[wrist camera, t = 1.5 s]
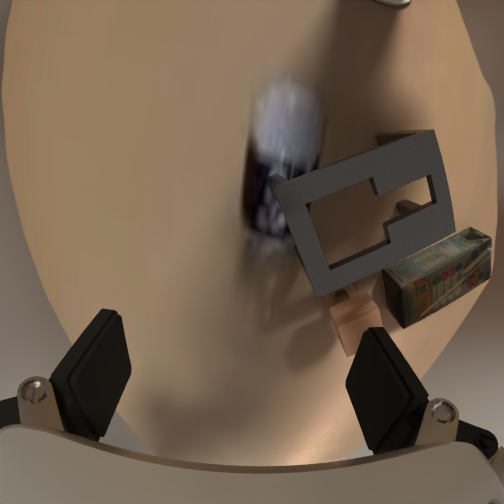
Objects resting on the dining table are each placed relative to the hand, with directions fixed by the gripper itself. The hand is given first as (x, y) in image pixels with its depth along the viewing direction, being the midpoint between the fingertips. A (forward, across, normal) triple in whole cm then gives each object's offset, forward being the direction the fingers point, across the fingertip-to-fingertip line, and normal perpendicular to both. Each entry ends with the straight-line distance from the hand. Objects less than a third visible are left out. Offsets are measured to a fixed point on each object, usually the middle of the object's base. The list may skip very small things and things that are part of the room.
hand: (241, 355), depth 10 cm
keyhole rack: (+26, -12, -4) cm, 29 cm away
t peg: (+26, -14, +10) cm, 31 cm away
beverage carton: (+26, -30, +5) cm, 40 cm away
